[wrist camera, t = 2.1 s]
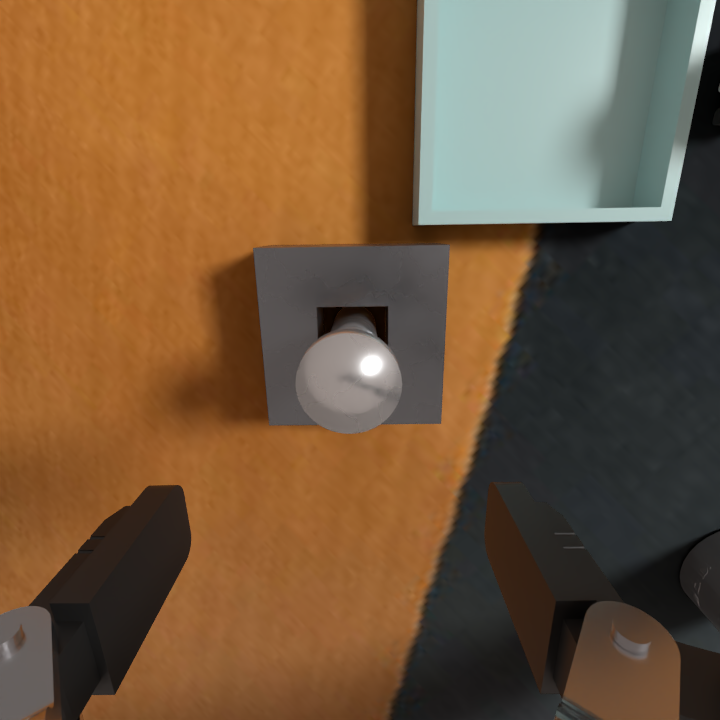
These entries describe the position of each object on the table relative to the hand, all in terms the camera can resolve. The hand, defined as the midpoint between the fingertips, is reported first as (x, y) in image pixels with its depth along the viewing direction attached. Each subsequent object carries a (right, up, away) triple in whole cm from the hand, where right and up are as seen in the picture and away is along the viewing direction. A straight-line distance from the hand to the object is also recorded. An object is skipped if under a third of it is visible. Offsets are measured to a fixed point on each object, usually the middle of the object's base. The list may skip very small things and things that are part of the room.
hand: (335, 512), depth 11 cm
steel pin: (0, +7, +20) cm, 21 cm away
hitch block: (0, +7, +20) cm, 21 cm away
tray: (+12, +21, +16) cm, 29 cm away
